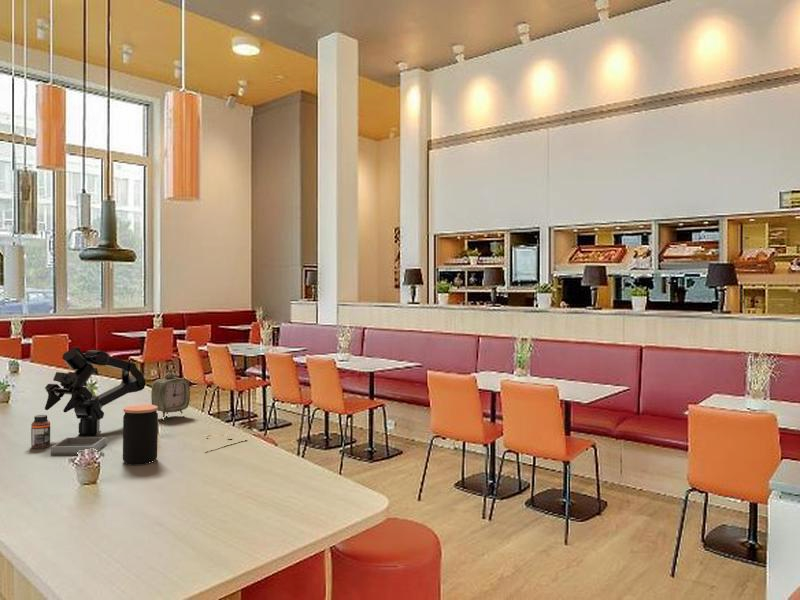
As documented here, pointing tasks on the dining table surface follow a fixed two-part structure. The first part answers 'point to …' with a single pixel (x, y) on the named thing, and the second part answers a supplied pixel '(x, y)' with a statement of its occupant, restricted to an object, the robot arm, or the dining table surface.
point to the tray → (77, 445)
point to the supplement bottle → (40, 432)
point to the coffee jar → (140, 434)
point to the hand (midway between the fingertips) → (54, 410)
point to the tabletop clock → (170, 392)
